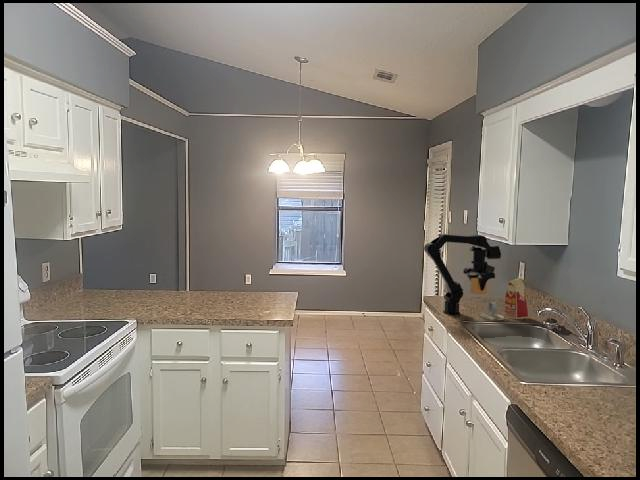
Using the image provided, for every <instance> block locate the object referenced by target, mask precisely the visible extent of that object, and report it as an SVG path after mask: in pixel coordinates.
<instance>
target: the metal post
mask: <svg viewBox="0 0 640 480" xmlns="http://www.w3.org/2000/svg"><path fill="white" fill-rule="evenodd" d="M497 303H498V302H494V301H490V302H488V313H489V315H490V316H496V315H497V312H498V311H497V308H498V307H497V305H498V304H497Z"/></svg>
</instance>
